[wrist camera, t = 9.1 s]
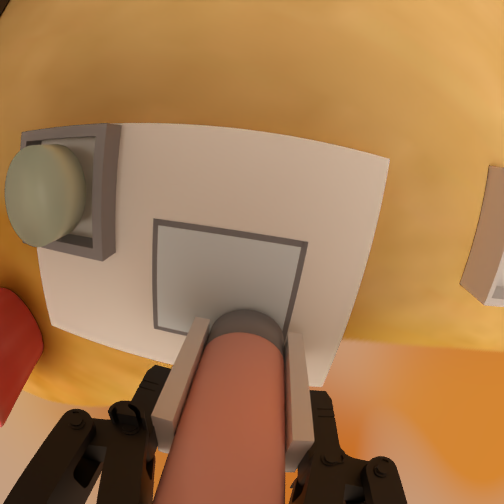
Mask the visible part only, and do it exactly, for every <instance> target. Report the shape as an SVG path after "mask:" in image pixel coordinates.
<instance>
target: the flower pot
mask: <svg viewBox="0 0 504 504" xmlns="http://www.w3.org/2000/svg"><path fill="white" fill-rule="evenodd" d="M42 352H43V342H42V335H41V332H40V329H39V327H38V325H37V322H36V321H35V319H34V317H33V315H32V314H31V312H30V310H29V309H28V308H27V306H26V305H25V304H24V302H23V301H22V300H21V299H20V298H19V297H18V296H17V295H16V294H15V293H14V292H12V291H11V290H9V289H6V288H0V427H2V426H3V425H4V423H5V421H6V420H7V418H8V416H9V414H10V412H11V410H12V408H13V406H14V404H15V402H16V400H17V398H18V396H19V394H20V392H21V391H22V389H23V387H24V385H25V383H26V381H27V380H28V378H29V376H30V374H31V372H32V370H33V368H34V367H35V365H36V363H37V361H38V360H39V358H40V356H41V354H42Z"/></svg>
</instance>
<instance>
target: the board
mask: <svg viewBox="0 0 504 504" xmlns="http://www.w3.org/2000/svg"><path fill="white" fill-rule="evenodd" d="M45 144H60V145H64V146H66V147H67V148H69V149H70V150H71V151H72V152H73V153H74V154H75V155H76V157H77V158H78V160H79V162H80V164H81V166H82V169H83V172H84V176H85V181H86V203H85V208H84V212H83V215H82V218H81V220H80V222H79V224H78V225H77V227H76V228H75V229H74V230H73V231H72V232H71V233H69V234H67V235H65V236H63V237H61V238H59V239H57V240H55V241H53V242H51V243H49V244H47V245H45V246H42V247H37V253H38V260H39V267H40V273H41V279H42V285H43V290H44V295H45V300H46V304H47V309H48V313H49V317H50V321H51V325H52V326H55V327H57V328H60V329H62V330H64V331H67V332H70V333H72V334H75V335H77V336H80V337H83V338H85V339H88V340H91V341H94V342H97V343H100V344H102V345H105V346H108V347H112V348H115V349H118V350H121V351H124V352H127V353H131V354H134V355H138V356H141V357H145V358H148V359H152V360H156V361H160V362H164V363H168V364H172V365H174V363H175V360H176V358H177V356H178V354H179V352H180V349H181V347H182V345H183V343H184V341H185V338H186V336H187V334H188V332H189V330H190V328H191V326H192V323H193V321H194V319H195V317H200V318H205V319H210V327H209V333H210V330H211V327H212V325H213V323H214V322H215V321H216V320H217V319H218V318H219V317H220V316H222V315H223V314H225V313H228V312H230V311H234V310H241V309H247V310H254V311H258V312H261V313H263V314H265V315H267V316H269V317H270V318H272V319H273V320H274V321H275V322H276V323H277V324H278V325H279V327H280V328H281V330H282V333H283V337H284V345H285V341H286V337H287V333H288V332H294V333H302V334H303V342H304V350H305V357H306V365H307V374H308V382H309V386H313V387H322V386H323V384H324V381H325V379H326V377H327V374H328V372H329V370H330V367H331V365H332V362H333V360H334V357H335V355H336V352H337V350H338V347H339V345H340V342H341V339H342V337H343V334H344V331H345V329H346V326H347V323H348V320H349V317H350V315H351V312H352V309H353V306H354V303H355V300H356V297H357V294H358V290H359V287H360V284H361V281H362V278H363V274H364V271H365V267H366V264H367V260H368V257H369V253H370V249H371V246H372V242H373V238H374V234H375V230H376V226H377V222H378V217H379V213H380V208H381V204H382V199H383V194H384V189H385V184H386V179H387V173H388V168H389V162H390V159H388V158H385V157H381V156H378V155H374V154H370V153H367V152H363V151H359V150H355V149H351V148H347V147H343V146H338V145H334V144H329V143H325V142H320V141H315V140H310V139H305V138H299V137H294V136H288V135H282V134H276V133H269V132H262V131H255V130H247V129H238V128H229V127H219V126H207V125H192V124H170V123H114V124H110V123H100V124H85V125H73V126H63V127H54V128H46V129H39V130H32V131H26V132H22V136H21V147H20V150H22V149H23V148H25V147H27V146H31V145H45ZM23 243H25V242H24V241H23ZM26 244H27V243H26Z"/></svg>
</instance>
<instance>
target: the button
mask: <svg viewBox="0 0 504 504" xmlns="http://www.w3.org/2000/svg"><path fill="white" fill-rule="evenodd" d="M85 203H86V181H85V176H84V172H83V169H82V166H81V164H80V162H79V160H78V158H77V157H76V155H75V154H74V153H73V152H72V151H71V150H70V149H69V148H67V147H66V146H64V145H60V144H45V145H31V146H27V147H25V148H23V149H22V150H20V151H19V152H18V153H17V154H16V156H15V157H14V159H13V160H12V162H11V164H10V166H9V169H8V172H7V176H6V182H5V204H6V209H7V214H8V217H9V220H10V222H11V225H12V227H13V229H14V230H15V232H16V233H17V235H18V236H19V237H20V238H21V239H22V240H23V241H24V242H25V243H27V244H28V245H30V246H33V247H42V246H45V245H47V244H49V243H51V242H53V241H55V240H57V239H59V238H61V237H63V236H65V235H67V234H69V233H71V232H72V231H73V230H74V229H75V228H76V227H77V225H78V224H79V222H80V220H81V218H82V215H83V212H84V208H85Z"/></svg>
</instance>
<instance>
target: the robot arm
mask: <svg viewBox="0 0 504 504" xmlns="http://www.w3.org/2000/svg"><path fill="white" fill-rule="evenodd" d="M7 2H8V0H0V14H1V13H2V11H3V9H4V7H5V6H6V4H7ZM209 327H210V319H205V318H200V317H195V319H194V321H193V323H192V326H191V328H190V330H189V332H188V334H187V336H186V338H185V341H184V343H183V345H182V347H181V349H180V352H179V354H178V356H177V358H176V360H175V363H174V365H173V367H172V369H170V368H166V367H162V366H158V365H155V366H153V367H152V368H151V369H149V370H148V371H147V372H146V374H145V376H144V378H143V381H142V382H141V384H140V385H139V388H138V389H137V391H136V393H135V395H134V397H133V399H132V400H131V401H119V402H116V403H114V404H113V405H112V406H110V408H109V410H108V413H109V416H110V419H111V420H104V419H95V418H91V416H90V415H89V414H88V413H87V412H86V411H84V410H81V409H72V410H69V411H67V412H66V413H65V414H64V415H63V416H62V418H61V419H60V420H59V422H58V423H57V424H56V426H55V427H54V428H53V430H52V431H51V432H50V434H49V435H48V437H47V438H46V439H45V441H44V442H43V444H42V445H41V447H40V448H39V449H38V451H37V453H36V454H35V455H34V457H33V458H32V460H31V461H30V463H29V464H28V466H27V467H26V469H25V470H24V472H23V473H22V475H21V476H20V478H19V479H18V481H17V482H16V484H15V485H14V487H13V489H12V490H11V492H10V493H9V495H8V496H7V498H6V500H5V501H4V503H3V504H85V502H86V500H87V498H88V496H89V495H90V493H91V491H92V489H93V486H94V485H95V483H96V481H97V479H98V477H99V475H100V473H101V471H102V474H101V480H100V485H99V491H98V497H97V503H96V504H152V502H153V501H152V500H153V485H154V470H155V452H156V449H157V446H158V450H159V451H161V452H165V453H168V454H169V451H170V448H171V445H172V442H173V439H174V436H175V433H176V430H177V427H178V424H179V421H180V418H181V415H182V412H183V409H184V406H185V403H186V400H187V397H188V394H189V391H190V388H191V386H192V383H193V380H194V377H195V374H196V371H197V368H198V365H199V362H200V360H201V357H202V354H203V350H204V347H205V344H206V341H207V338H208V336H209ZM284 362H285V364H284V379H285V472H295V470H296V469H297V468H298V477H297V478H296V479H295V481H294V482H293V483H292V485H291V487H290V488H293V490H292V494H291V498H290V501H289V504H407V501H406V497H405V494H404V490H403V487H402V484H401V480H400V477H399V474H398V470H397V467H396V465H395V463H394V462H393V461H392V460H391V459H389V458H387V457H382V456H378V457H375V458H372V459H371V460H370V461H365V460H360V459H355V458H352V457H350V456H348V455H346V454H345V452H344V451H343V450H342V449H341V448H340V445H339V440H338V434H337V428H336V422H335V418H334V411H333V405H332V400H331V398H330V397H329V395H328V394H327V392H326V391H314V390H309V382H308V374H307V365H306V357H305V350H304V342H303V334H302V333H294V332H288V333H287V337H286V341H285V345H284Z"/></svg>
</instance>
